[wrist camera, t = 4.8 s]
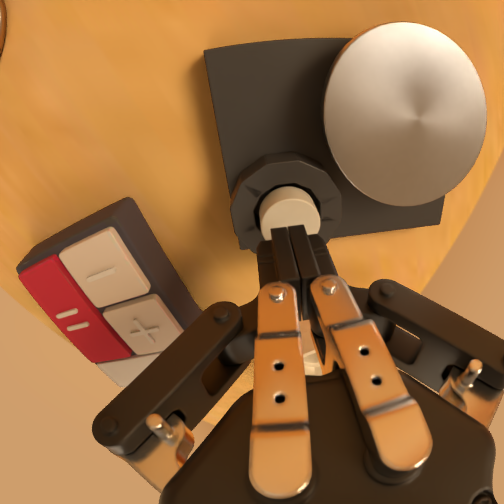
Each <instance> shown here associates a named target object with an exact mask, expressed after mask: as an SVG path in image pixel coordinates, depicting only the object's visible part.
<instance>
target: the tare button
mask: <svg viewBox="0 0 504 504" xmlns="http://www.w3.org/2000/svg"><path fill="white" fill-rule="evenodd" d="M259 216H260V226H261V232H262V235H263V237H264V238H265V240H271V231H270V229H271V228H278V227H287V226H293V225H301V224H304V226H305V229H306V232H307V235H310V234H317V233H318V231H319V228H320V216H319V213H318V211H317V209H316V206H315V204H314V202H313V200H312V198H311V197H310V195H309V194H308V193H306V192H305V191H304V190H302V189H300V188H297V187H289V186H288V187H281V188H278V189H275V190H273V191H272V192H270V193H269V194H268V195H267V196H266V197H265V198H264V199H263V201H262V203H261V205H260V210H259Z"/></svg>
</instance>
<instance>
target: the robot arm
mask: <svg viewBox="0 0 504 504" xmlns="http://www.w3.org/2000/svg"><path fill="white" fill-rule="evenodd" d="M6 21H7V17H6V7H5V3H4V0H0V55H1V52H2V48H3V44H4V39H5V33H6ZM270 231H271V240H265V241H260V242H259V244H258V246H257V248H256V252H257V262H258V272H259V283H260V291H259V294H258V295H257V297H256V298H255V299H254V300H253V301H251V302H249V303H247V304H245V305H242V306H240V307H238V306H237V305H236V304H234V303H232V302H226V301H223V302H217V303H215V304H212V305H211V306H209V307H208V308H207V309H206V310H205V311H204V312H203V313H202V314H201V315H200V316H199V317H198V318H197V319H196V320H195V321H194V322H193V323H192V324H191V325H190V326H189V327H187V328H186V329H185V330H184V331H183V332H182V333H181V334H180V335H179V336H178V337H177V338H176V339H175V340H174V341H173V342H172V343H171V344H170V345H169V346H168V347H167V348H166V349H165V350H164V351H163V352H162V353H161V354H160V355H159V356H158V357H157V358H156V359H155V360H154V361H153V362H152V363H150V364H149V365H148V366H147V367H146V368H145V369H144V370H143V371H142V372H141V373H140V374H139V375H138V376H137V377H136V378H135V379H134V380H133V381H132V382H131V383H130V384H129V385H128V386H127V387H126V388H125V389H124V390H123V391H122V392H120V394H118V395H117V396H116V397H115V398H114V399H113V400H112V401H111V402H110V403H109V404H108V405H107V406H106V407H105V408H104V409H103V410H102V411H101V412H100V413H99V414H98V415H97V416H96V418H95V419H94V421H93V425H92V432H93V436H94V438H95V439H96V440H97V442H98V443H100V444H101V445H103V446H104V447H106V448H107V449H109V451H110V452H112V453H113V454H114V455H116V456H118V457H119V458H121V459H123V460H124V461H126V462H127V463H128V464H129V465H130V466H131V467H132V468H134V470H135V471H136V472H138V473H139V474H140V475H141V476H142V477H143V478H144V479H145V480H146V481H147V482H148V483H149V484H150V485H152V486H153V487H154V488H155V489H156V490H157V491H158V492H160V493H161V495H160V499H159V504H498V503H497V502H496V500H495V498H494V495H493V488H492V479H493V468H494V462H495V454H496V452H495V451H496V449H495V443H494V439H493V437H492V435H491V433H490V431H489V430H488V428H489V426H490V424H491V422H492V420H493V418H494V415H495V413H496V411H497V408H498V406H499V404H500V401H501V399H502V396H503V394H504V340H503V339H501V338H499V337H498V336H496V335H494V334H492V333H490V332H489V331H487V330H485V329H483V328H481V327H480V326H478V325H476V324H474V323H473V322H471V321H469V320H467V319H465V318H463V317H462V316H460V315H458V314H456V313H454V312H452V311H450V310H449V309H447V308H445V307H443V306H441V305H439V304H437V303H436V302H434V301H431V300H430V299H428V298H426V297H424V296H422V295H420V294H418V293H417V292H415V291H413V290H411V289H409V288H407V287H405V286H403V285H401V284H399V283H397V282H395V281H393V280H389V279H380V280H377V281H375V282H373V283H372V284H371V285H370V287H369V289H366V288H356V287H352V286H349V285H347V283H346V282H345V280H344V279H342V278H341V277H339V276H338V274H337V271H336V268H335V266H334V263H333V261H332V258H331V256H330V255H329V251H328V249H327V246H326V244H325V241H324V239H322V238H321V237H320V236H319V235H318V234H310V235H307V232H306V229H305V226H304V224H301V225H293V226H287V227H278V228H271V229H270ZM301 314H302V319H303V321H304V320H309V322H310V335H311V338H312V342H313V345H314V348H315V351H316V354H317V357H318V360H319V364H320V367H321V370H322V375H321V376H317V375H305V369H304V358H303V347H302V337H301V332H300V325H299V321H301ZM396 324H397V325H398V326H400V327H402V328H403V329H405V330H407V331H409V332H410V333H412V334H414V335H416V336H417V337H419V338H420V340H419V339H417V338H416V337H414V336H412V335H411V334H409V333H407V332H405V331H404V330H402V329H400V328H398V327H397V326H396ZM251 359H254V385H253V389H252V390H250V391H248V392H247V393H245V394H244V395H242V396H241V397H240V398H239V399H238V400H237V401H236V402H235V403H234V404H233V405H232V406H231V407H230V409H229V410H228V411H227V412H226V414H225V415H224V416H223V417H222V419H221V420H220V421H219V422H218V424H217V425H216V426H215V427H214V429H213V430H212V431H211V432H210V434H209V435H208V436H207V437H206V439H205V440H204V441H203V442H202V443H201V444H200V446H199V447H198V448H197V449H196V450H195V452H194V453H193V454H192V455H191V456H190V458H189V459H188V460H187V457H188V455H189V453H190V452H191V450H192V448H193V447H194V436H193V433H192V432H191V431H192V430H193V429H194V428H195V427H196V426H197V424H198V423H199V422H200V421H201V420H202V419H203V418H204V417H205V416H206V414H207V413H208V412H209V411H210V410H211V409H212V408H213V407H214V405H215V404H216V403H217V402H218V401H219V400H220V398H221V397H222V396H223V395H224V394H225V393H226V392H227V390H228V389H229V388H230V387H231V386H232V384H233V383H234V382H235V381H236V380H237V379H238V377H239V376H240V375H241V374H242V373H243V371H244V370H245V369H246V368H247V367H248V365H249V364H250V362H251ZM396 367H398V368H399V369H401V370H403V371H404V372H406V373H408V374H409V375H411V376H413V377H414V378H416V379H417V380H419V381H420V382H422V383H424V384H425V385H427V386H429V387H430V388H432V389H434V390H435V391H437V392H438V393H439V395H438V394H436V393H435V392H433V391H432V390H430V389H429V388H427V387H426V386H424V385H423V384H421V383H420V382H418V381H417V380H415V379H414V378H412V377H411V376H409V375H408V374H406V373H404V372H402V371H400V370H397V368H396Z"/></svg>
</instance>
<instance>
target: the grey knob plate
mask: <svg viewBox="0 0 504 504" xmlns="http://www.w3.org/2000/svg"><path fill="white" fill-rule="evenodd" d="M352 39H353V38H304V39H286V40H273V41H263V42H254V43H246V44H238V45H231V46H225V47H219V48H213V49H208V50H204V57H205V63H206V69H207V74H208V80H209V85H210V91H211V97H212V102H213V108H214V113H215V118H216V124H217V129H218V135H219V140H220V146H221V151H222V156H223V162H224V167H225V172H226V177H227V183H228V188H229V193H230V198H231V204H230V211H231V216H232V222H233V227H234V232H235V234H236V235H237V236H238V240H239V245H240V249H241V250H245V249H250V250H251V251H252V252H253V253H256V254H257V252H256V248H257V246H258V244H259V242H260V241H265V238H264V237H263V235H262V232H261V226H260V216H259V210H260V205H261V203H262V201H263V199H264V198H265V197H266V196H267V195H268V194H269V193H270V192H272V191H273V190H275V189H278V188H281V187H288V186H289V187H297V188H300V189H302V190H304V191H305V192H306V193H308V194H309V195H310V197H311V198H312V200H313V202H314V204H315V206H316V209H317V211H318V213H319V216H320V228H319V231H318V233H317V234H318V235H319V236H320V237H321V238H322V239H324V241H325V244H327V242H328V241H329V240H330V238H337V237H345V236H353V235H361V234H368V233H376V232H384V231H392V230H400V229H408V228H416V227H424V226H432V225H439V224H440V221H441V215H442V210H443V204H444V198H445V195H443V196H442V197H440V198H438V199H436V200H434V201H431V202H428V203H425V204H422V205H415V206H394V205H389V204H385V203H382V202H379V201H377V200H374V199H372V198H370V197H369V196H367V195H365V194H363V193H362V192H361V191H360V190H358V189H357V188H356V187H354V185H353V184H352V183H351V182H350V181H349V180H348V179H347V178H346V177H345V176H344V174H343V173H342V172H341V170H340V169H339V168H338V166H337V165H336V163H335V161H334V160H333V158H332V156H331V154H330V151H329V149H328V147H327V144H326V141H325V137H324V133H323V128H322V121H321V100H322V92H323V88H324V84H325V80H326V77H327V74H328V72H329V69H330V67H331V65H332V63H333V62H334V60H335V58H336V57H337V55H338V54H339V52H340V51H341V50H342V49H343V47H344V46H345V45H346V44H347V43H348V42H349V41H351V40H352Z"/></svg>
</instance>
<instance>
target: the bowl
mask: <svg viewBox="0 0 504 504" xmlns="http://www.w3.org/2000/svg"><path fill="white" fill-rule="evenodd" d="M299 325H300V332H301V337H302V347H303V358H304V369H305V375H317V376H321V375H322V370H321V367H320V364H319V360H318V357H317V354H316V351H315V348H314V345H313V342H312V338H311V335H310V322H309V320H304V321H303V319H302V314H301V321H299Z"/></svg>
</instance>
